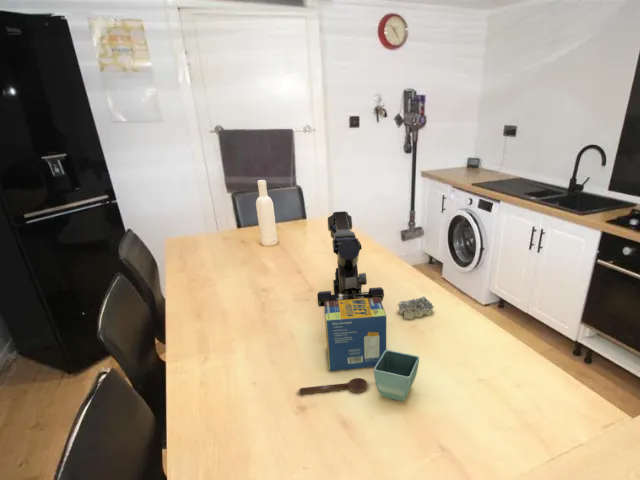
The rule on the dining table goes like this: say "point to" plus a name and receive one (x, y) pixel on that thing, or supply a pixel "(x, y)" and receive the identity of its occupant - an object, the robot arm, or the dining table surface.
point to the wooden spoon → (339, 387)
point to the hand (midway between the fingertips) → (353, 325)
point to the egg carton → (415, 308)
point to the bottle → (266, 216)
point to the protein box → (355, 333)
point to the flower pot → (395, 374)
